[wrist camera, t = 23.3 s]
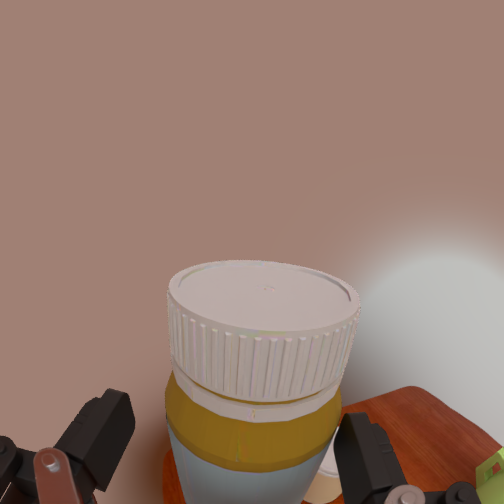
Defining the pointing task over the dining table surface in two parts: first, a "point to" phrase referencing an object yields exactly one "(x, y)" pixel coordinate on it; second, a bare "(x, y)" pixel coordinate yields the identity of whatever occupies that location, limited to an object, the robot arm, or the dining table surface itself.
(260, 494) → the bottle
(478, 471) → the teapot
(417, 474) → the dining table surface
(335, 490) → the coffee cup
